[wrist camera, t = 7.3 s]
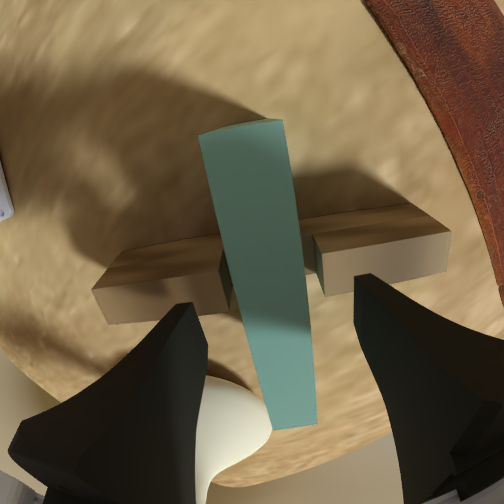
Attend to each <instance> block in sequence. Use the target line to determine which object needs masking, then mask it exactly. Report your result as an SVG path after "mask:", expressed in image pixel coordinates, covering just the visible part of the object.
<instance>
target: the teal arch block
mask: <svg viewBox="0 0 504 504" xmlns="http://www.w3.org/2000/svg"><path fill="white" fill-rule="evenodd" d="M198 139H199V143H200V148H201V152H202V157H203V161H204V166H205V170H206V175H207V179H208V183H209V188H210V192H211V196H212V200H213V205H214V209H215V213H216V217H217V221H218V226H219V230H220V234H221V238H222V242H223V246H224V250H225V254H226V258H227V262H228V266H229V270H230V274H231V278H232V282H233V286H234V290H235V294H236V298H237V302H238V305H239V309H240V313H241V317H242V321H243V324H244V328H245V332H246V336H247V340H248V343H249V347H250V351H251V354H252V358H253V362H254V365H255V369H256V373H257V376H258V380H259V383H260V387H261V390H262V394H263V398H264V401H265V405H266V408H267V412H268V415H269V419H270V422H271V425H272V429H273V430H279V429H287V428H294V427H301V426H308V425H314V424H317V405H316V389H315V374H314V361H313V348H312V337H311V326H310V315H309V305H308V295H307V286H306V277H305V268H304V260H303V252H302V244H301V236H300V228H299V221H298V214H297V207H296V200H295V193H294V186H293V180H292V173H291V167H290V161H289V154H288V148H287V143H286V137H285V131H284V125H283V120H281V119H262V120H256V121H250V122H245V123H239V124H234V125H229V126H224V127H221V128H218V129H215V130H213V131H210V132H207V133H204V134H201V135H198Z"/></svg>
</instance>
